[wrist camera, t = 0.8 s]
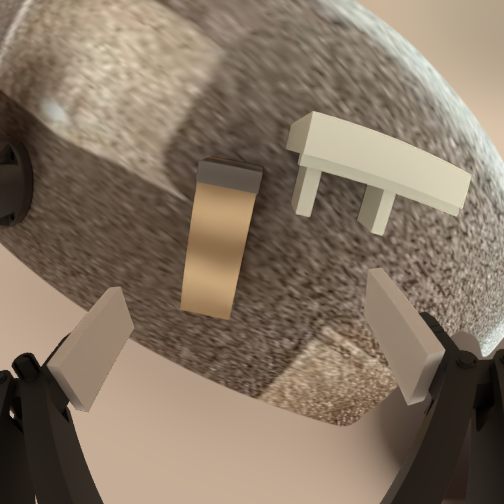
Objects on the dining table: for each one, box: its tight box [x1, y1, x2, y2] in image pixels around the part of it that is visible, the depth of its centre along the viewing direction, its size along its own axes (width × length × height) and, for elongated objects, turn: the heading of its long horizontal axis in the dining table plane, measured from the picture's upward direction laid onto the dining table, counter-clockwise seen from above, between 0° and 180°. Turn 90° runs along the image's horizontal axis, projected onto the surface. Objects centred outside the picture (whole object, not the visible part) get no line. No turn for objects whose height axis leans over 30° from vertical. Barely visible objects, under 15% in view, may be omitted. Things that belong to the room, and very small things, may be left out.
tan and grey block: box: [180, 156, 263, 320], centre depth 31 cm, size 16×6×7 cm, turn 168°
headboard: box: [286, 111, 471, 236], centre depth 25 cm, size 14×9×14 cm, turn 78°
